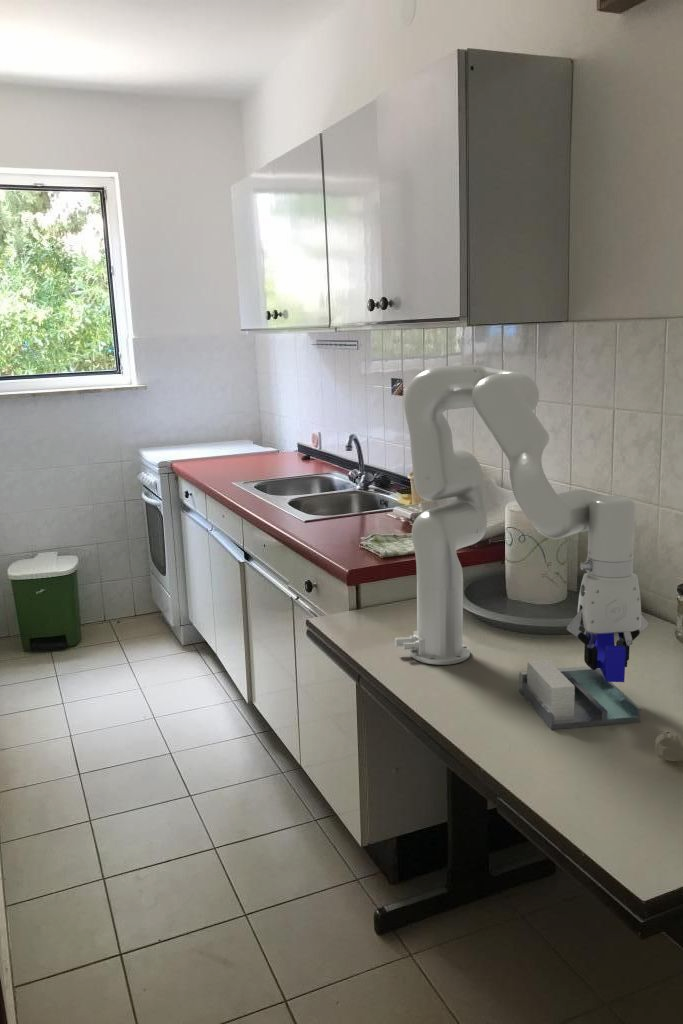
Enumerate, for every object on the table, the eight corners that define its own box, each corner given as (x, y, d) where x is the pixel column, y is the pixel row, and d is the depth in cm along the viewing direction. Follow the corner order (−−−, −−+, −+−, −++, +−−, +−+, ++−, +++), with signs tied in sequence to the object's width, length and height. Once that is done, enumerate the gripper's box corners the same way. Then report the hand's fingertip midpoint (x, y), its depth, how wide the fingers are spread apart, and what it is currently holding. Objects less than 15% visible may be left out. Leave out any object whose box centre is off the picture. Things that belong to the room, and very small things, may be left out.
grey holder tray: (551, 729, 142) (552, 691, 141) (519, 691, 158) (519, 656, 156) (640, 722, 144) (642, 684, 143) (599, 684, 160) (601, 650, 158)
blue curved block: (586, 655, 156) (587, 625, 154) (611, 656, 155) (612, 625, 154) (597, 681, 144) (598, 648, 143) (624, 682, 143) (625, 649, 142)
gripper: (571, 576, 141) (569, 677, 145) (666, 569, 143) (661, 670, 147) (554, 564, 148) (552, 661, 152) (645, 558, 150) (641, 654, 154)
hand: (606, 664), depth 149 cm, fingers closed on blue curved block, 4 cm apart
